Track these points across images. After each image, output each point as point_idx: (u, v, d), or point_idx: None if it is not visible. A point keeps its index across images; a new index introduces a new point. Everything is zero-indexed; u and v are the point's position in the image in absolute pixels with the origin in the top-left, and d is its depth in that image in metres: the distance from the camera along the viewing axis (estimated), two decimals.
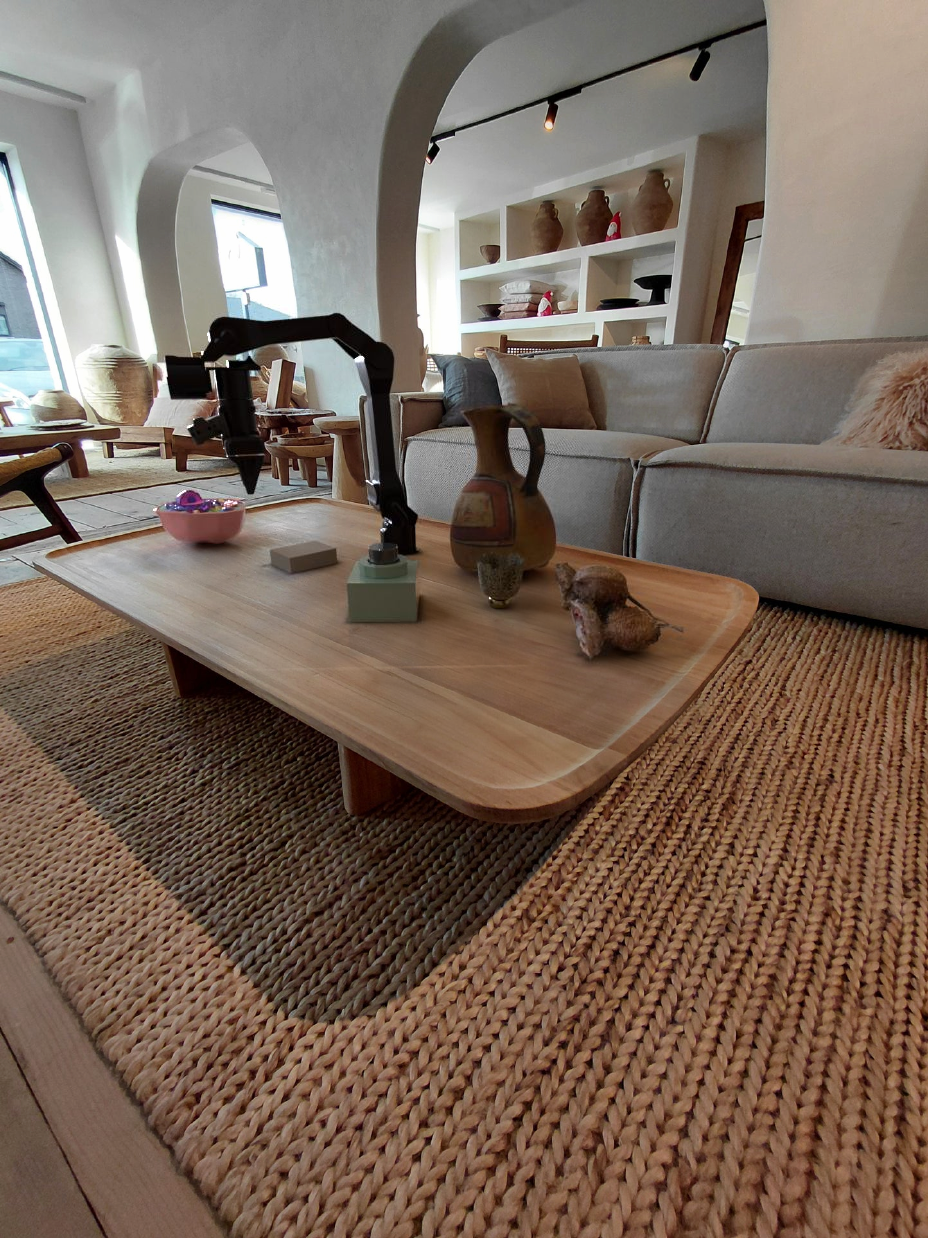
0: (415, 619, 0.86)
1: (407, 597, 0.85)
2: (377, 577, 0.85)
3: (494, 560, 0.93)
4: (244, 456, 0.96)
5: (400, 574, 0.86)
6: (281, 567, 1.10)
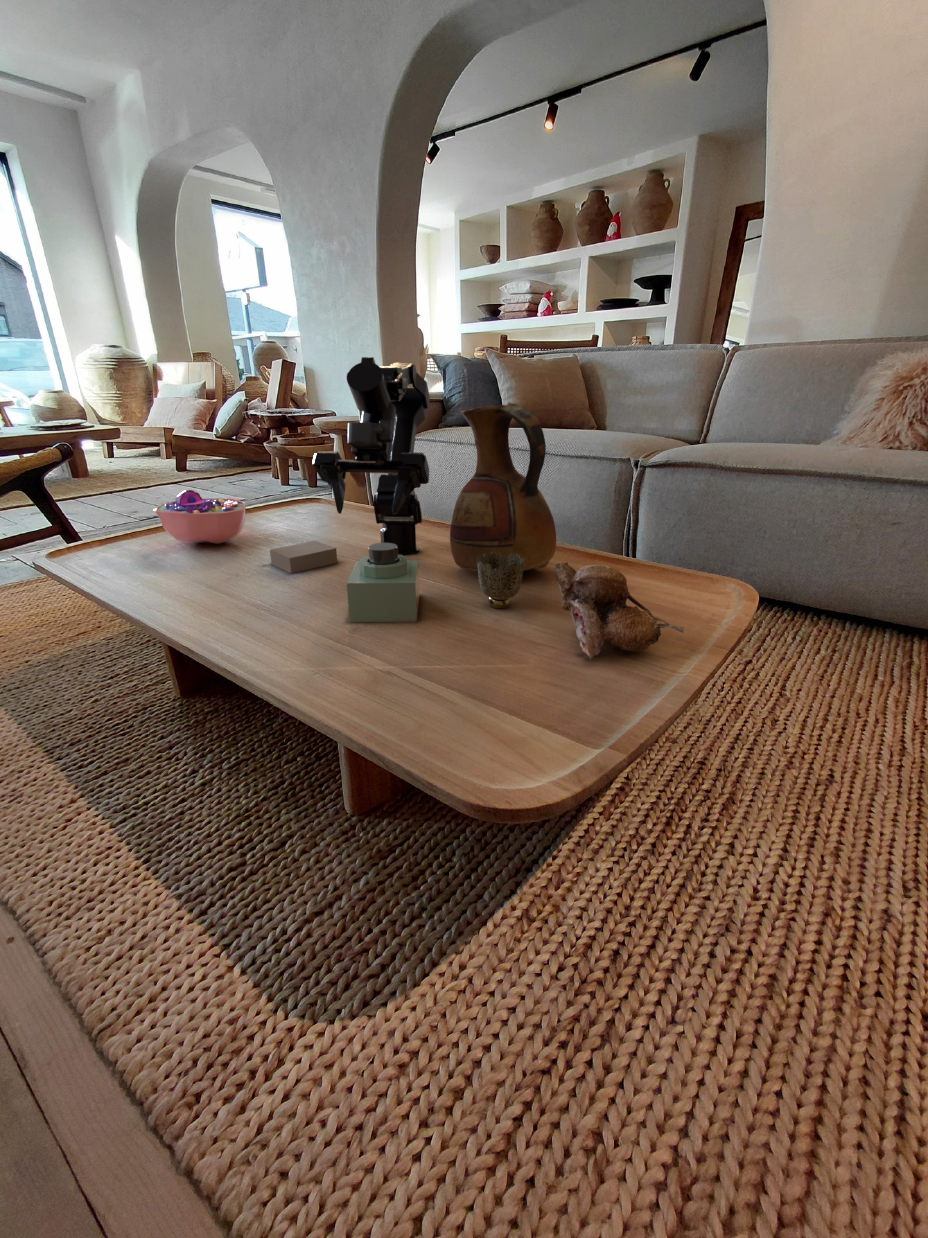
0: (415, 619, 0.86)
1: (407, 597, 0.85)
2: (377, 577, 0.85)
3: (494, 560, 0.93)
4: None
5: (400, 574, 0.86)
6: (281, 567, 1.10)
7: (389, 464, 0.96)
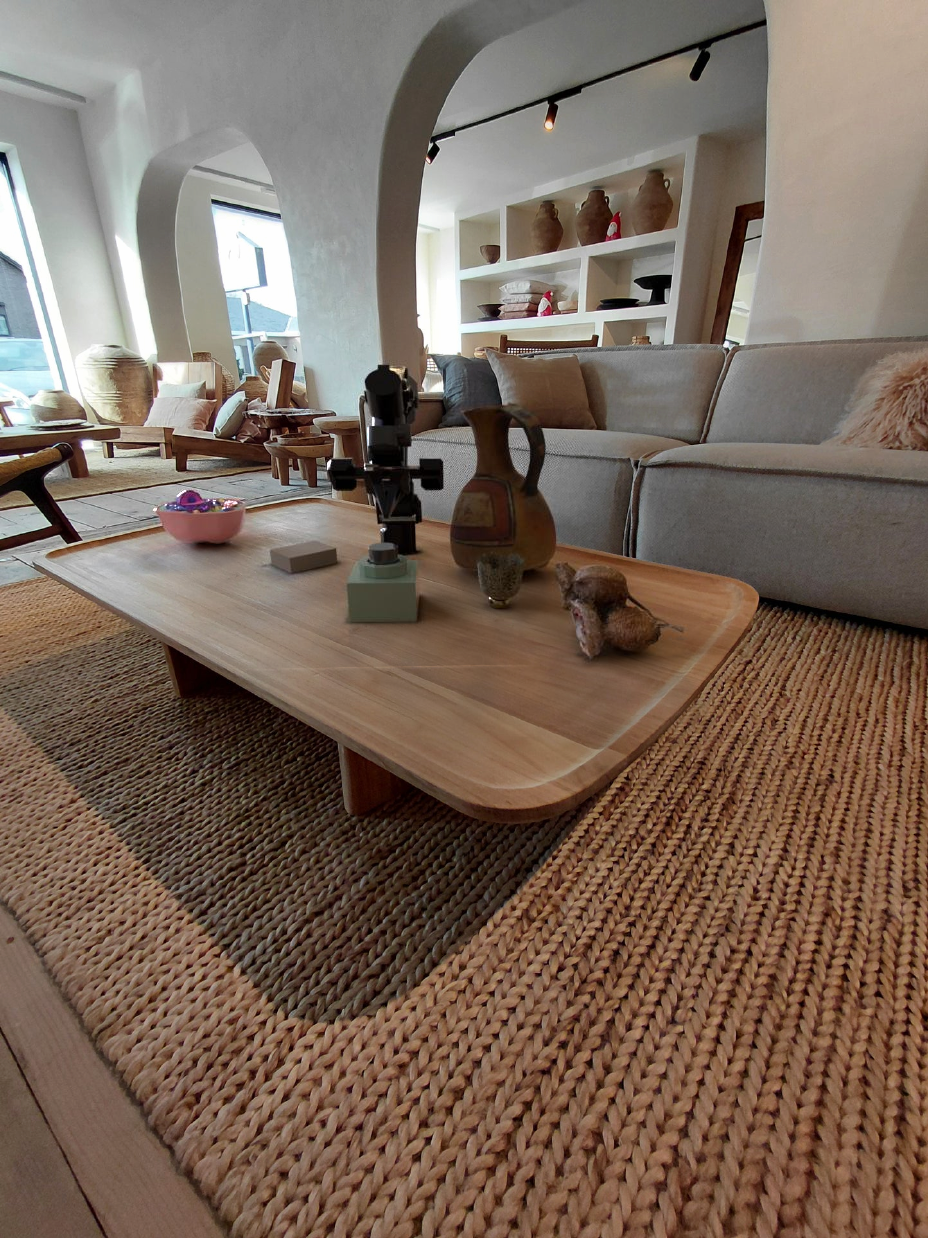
0: (415, 619, 0.86)
1: (407, 597, 0.85)
2: (377, 577, 0.85)
3: (494, 560, 0.93)
4: None
5: (400, 574, 0.86)
6: (281, 567, 1.10)
7: (405, 470, 0.95)
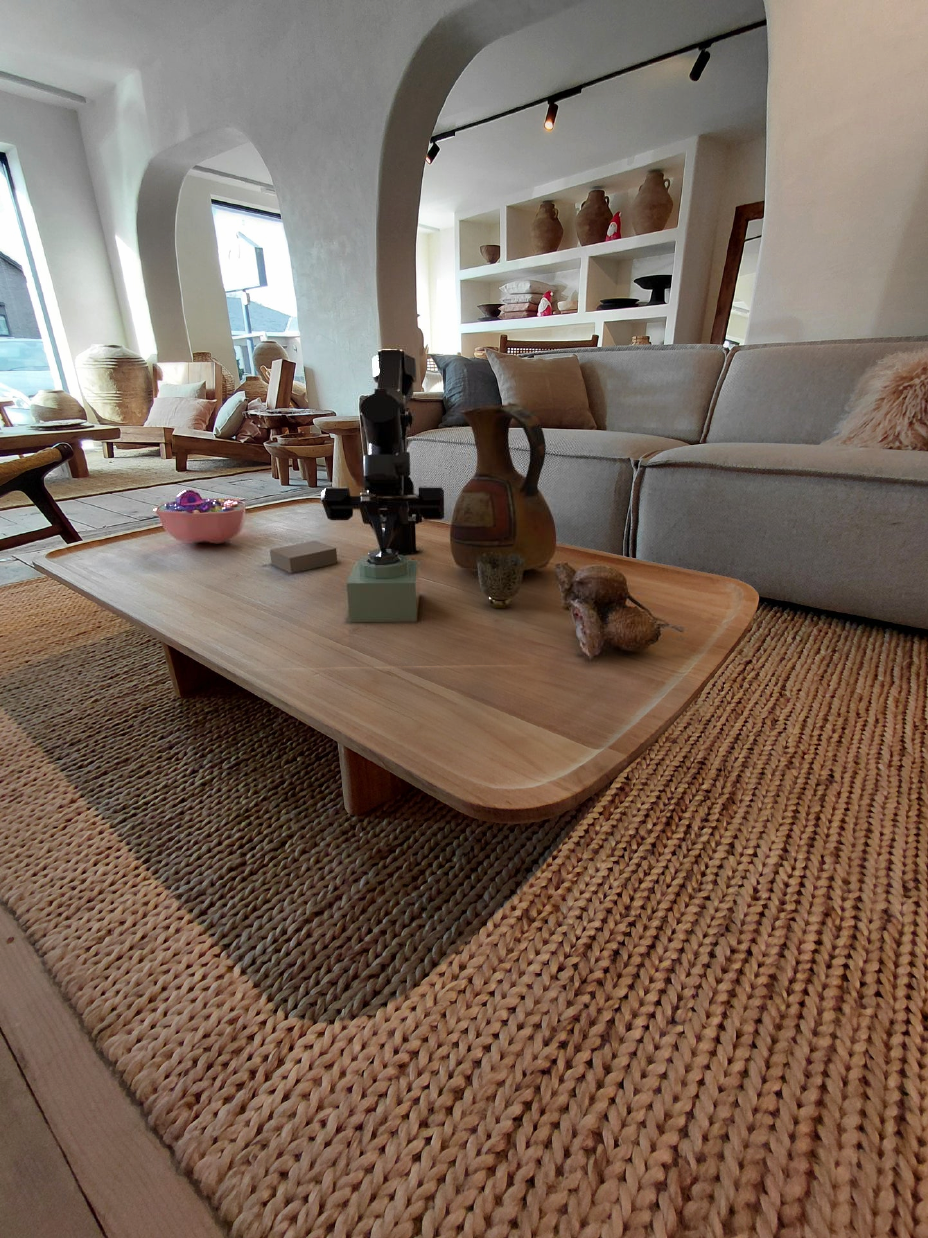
0: (415, 619, 0.86)
1: (407, 597, 0.85)
2: (377, 577, 0.85)
3: (494, 560, 0.93)
4: None
5: (400, 574, 0.86)
6: (281, 567, 1.10)
7: (403, 499, 0.90)
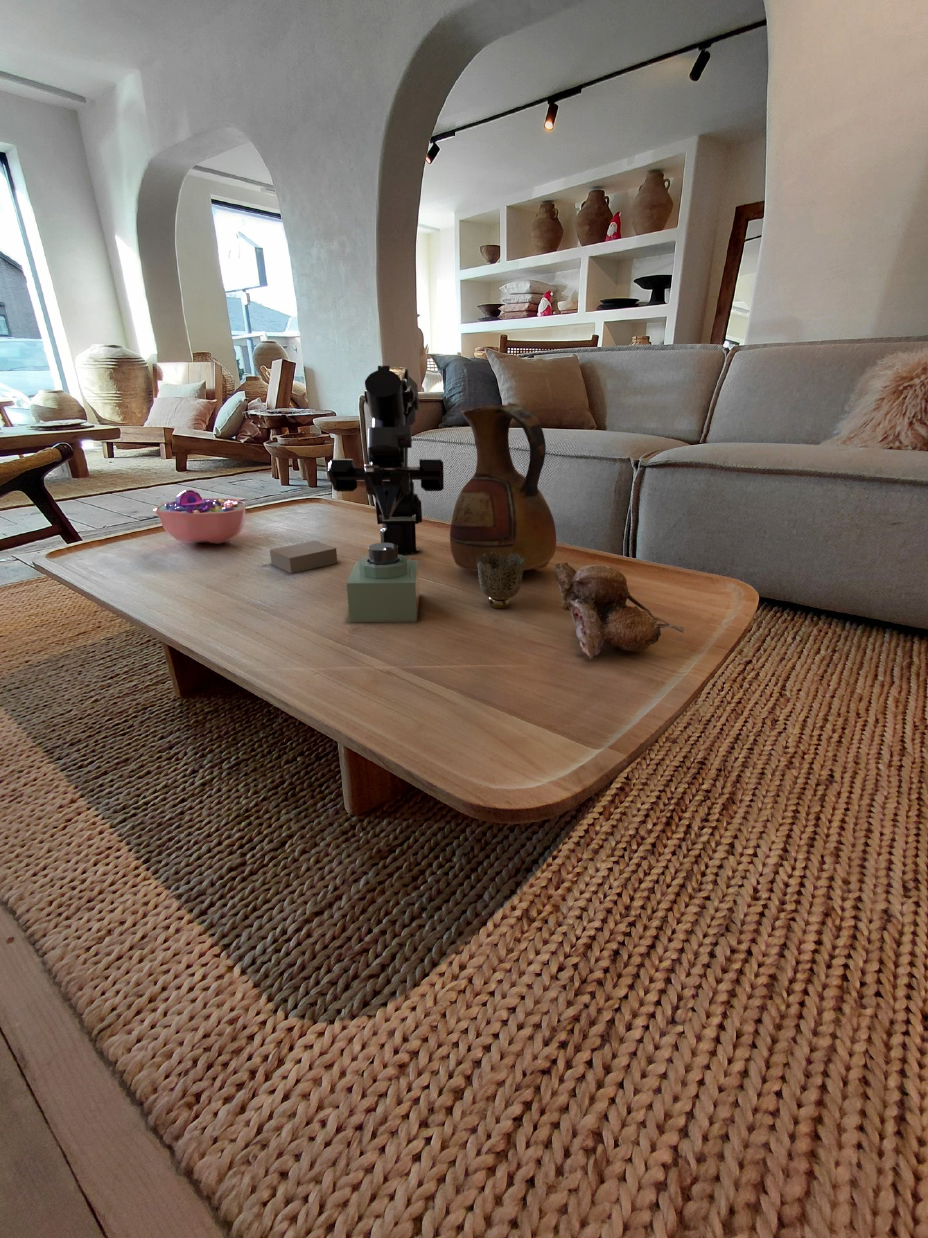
0: (415, 619, 0.86)
1: (407, 597, 0.85)
2: (377, 577, 0.85)
3: (494, 560, 0.93)
4: None
5: (400, 574, 0.86)
6: (281, 567, 1.10)
7: (405, 471, 0.96)
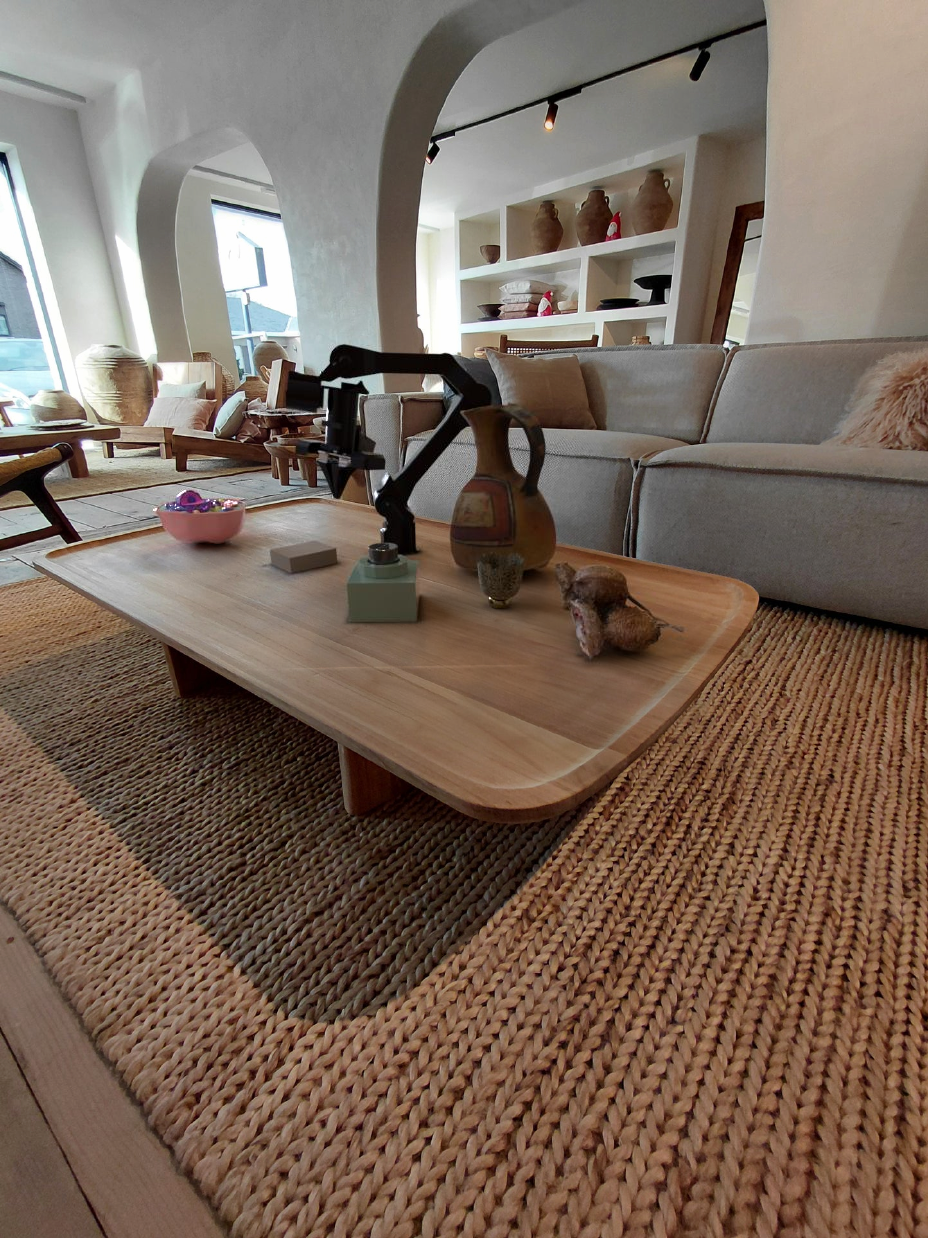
0: (415, 619, 0.86)
1: (407, 597, 0.85)
2: (377, 577, 0.85)
3: (494, 560, 0.93)
4: None
5: (400, 574, 0.86)
6: (281, 567, 1.10)
7: None
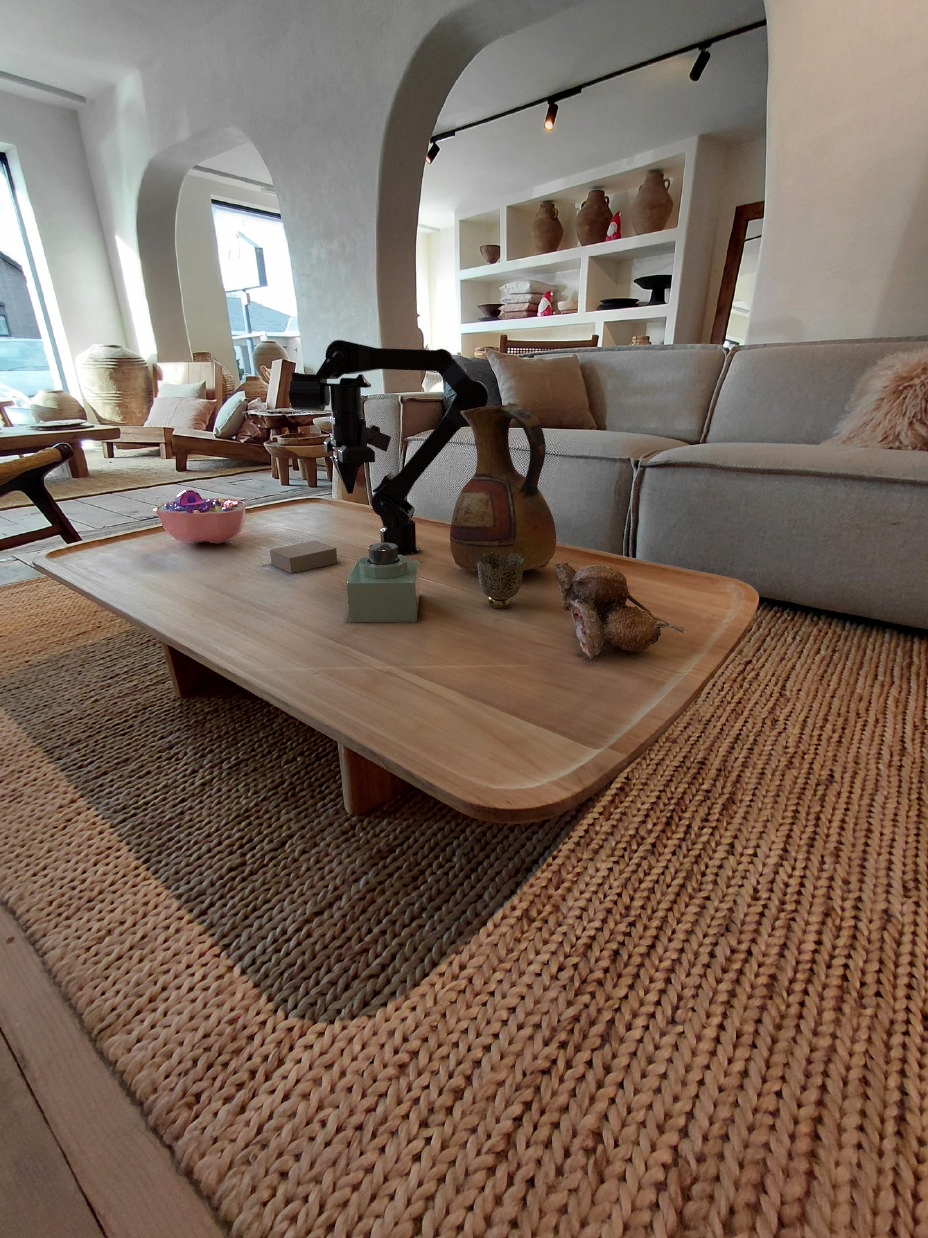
0: (415, 619, 0.86)
1: (407, 597, 0.85)
2: (377, 577, 0.85)
3: (494, 560, 0.93)
4: None
5: (400, 574, 0.86)
6: (281, 567, 1.10)
7: None
